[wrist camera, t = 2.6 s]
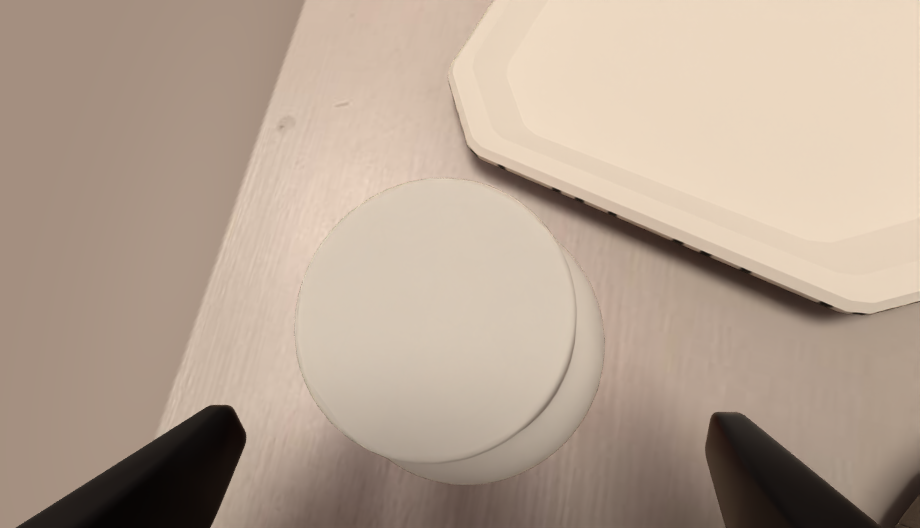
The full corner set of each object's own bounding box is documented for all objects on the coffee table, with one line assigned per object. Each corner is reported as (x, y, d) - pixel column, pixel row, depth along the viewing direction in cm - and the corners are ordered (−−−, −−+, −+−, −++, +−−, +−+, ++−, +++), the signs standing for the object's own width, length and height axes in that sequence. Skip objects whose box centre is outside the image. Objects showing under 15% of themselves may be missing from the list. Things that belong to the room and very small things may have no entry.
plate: (924, 372, 14) (988, 367, 12) (421, 150, 21) (407, 122, 19) (1087, -72, 18) (1159, -134, 16) (612, -145, 24) (618, -196, 22)
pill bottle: (610, 407, 16) (729, 419, 6) (460, 476, 16) (308, 611, 6) (534, 263, 18) (517, 82, 8) (403, 327, 18) (217, 233, 8)
